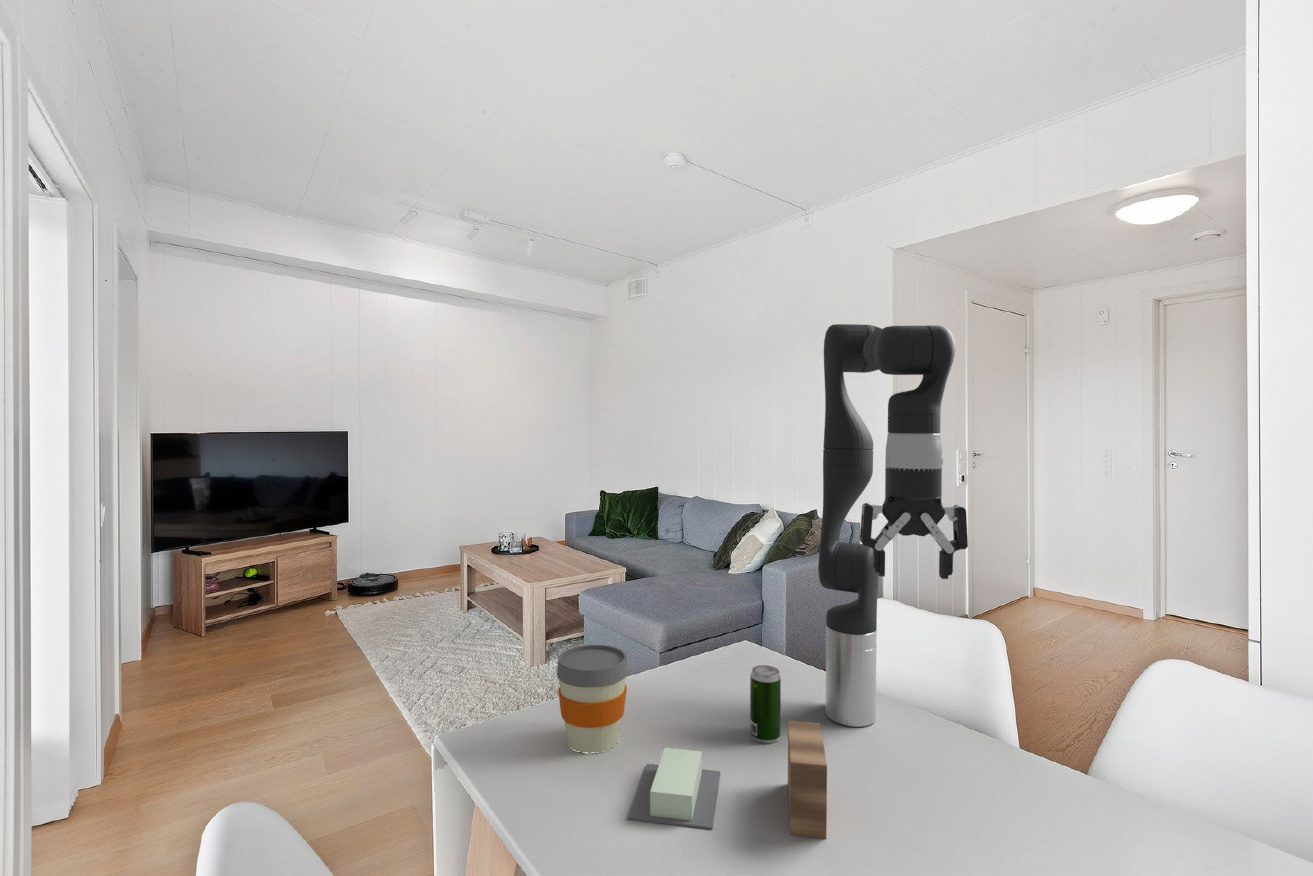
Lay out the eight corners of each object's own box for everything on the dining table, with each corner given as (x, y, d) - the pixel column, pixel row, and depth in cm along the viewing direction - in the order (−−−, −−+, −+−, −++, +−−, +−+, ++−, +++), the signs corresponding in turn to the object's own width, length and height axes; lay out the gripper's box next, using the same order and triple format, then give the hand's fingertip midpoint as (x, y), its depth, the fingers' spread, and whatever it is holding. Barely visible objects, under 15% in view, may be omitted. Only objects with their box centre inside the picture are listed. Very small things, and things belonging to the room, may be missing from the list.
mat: (647, 765, 102) (647, 763, 102) (720, 773, 99) (720, 771, 99) (627, 819, 88) (627, 817, 88) (712, 829, 86) (712, 827, 86)
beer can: (764, 747, 107) (764, 679, 107) (743, 734, 112) (744, 668, 111) (786, 739, 110) (787, 672, 110) (765, 726, 115) (766, 662, 114)
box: (787, 783, 97) (788, 720, 96) (819, 787, 96) (820, 723, 95) (790, 834, 85) (790, 762, 84) (826, 838, 84) (827, 765, 84)
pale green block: (664, 769, 100) (664, 747, 100) (701, 773, 99) (701, 751, 99) (650, 815, 88) (650, 791, 88) (692, 820, 87) (692, 796, 87)
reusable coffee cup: (543, 751, 106) (542, 664, 106) (579, 718, 118) (578, 640, 117) (608, 766, 101) (608, 676, 101) (639, 731, 113) (639, 649, 113)
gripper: (958, 463, 91) (957, 572, 92) (858, 462, 94) (857, 568, 95) (974, 467, 84) (973, 586, 85) (865, 466, 87) (864, 581, 87)
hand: (911, 576), depth 90 cm, fingers open, 8 cm apart
